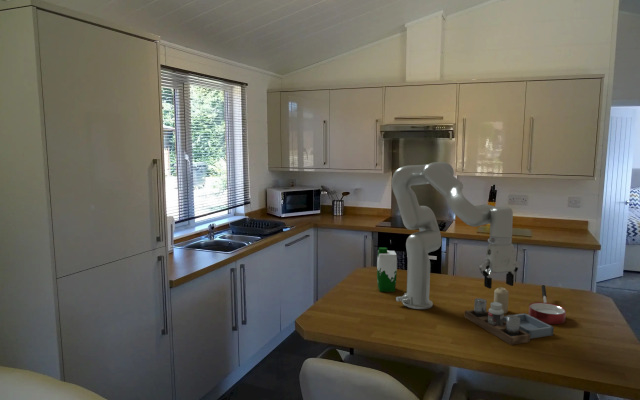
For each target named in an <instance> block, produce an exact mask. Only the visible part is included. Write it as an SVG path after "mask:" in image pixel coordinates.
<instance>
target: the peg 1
mask: <svg viewBox="0 0 640 400" xmlns="http://www.w3.org/2000/svg"><path fill="white" fill-rule="evenodd" d="M473 305H474V306H473V310H474V315H475V316H477V317H485V316H486V311H487V305H488V304H487V299H485V298H480V297H475V299H474V304H473Z"/></svg>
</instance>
